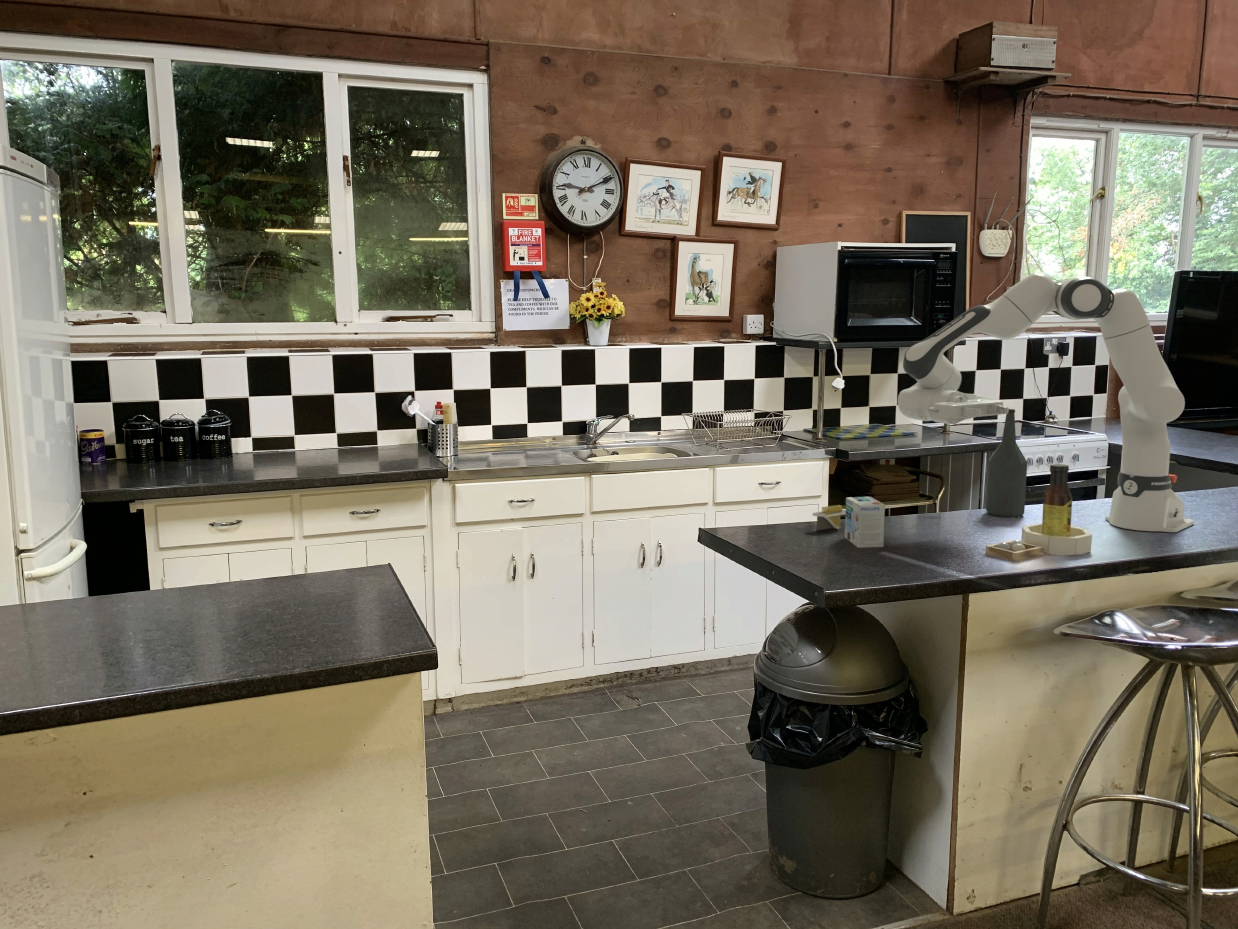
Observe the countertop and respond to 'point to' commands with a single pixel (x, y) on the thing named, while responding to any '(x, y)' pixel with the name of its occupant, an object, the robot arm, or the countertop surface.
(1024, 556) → the pebble tray
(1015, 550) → the pebble
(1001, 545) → the pebble
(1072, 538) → the bowl
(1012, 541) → the pebble
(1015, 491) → the bottle
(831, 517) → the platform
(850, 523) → the light bulb box
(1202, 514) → the countertop surface
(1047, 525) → the sauce bottle
